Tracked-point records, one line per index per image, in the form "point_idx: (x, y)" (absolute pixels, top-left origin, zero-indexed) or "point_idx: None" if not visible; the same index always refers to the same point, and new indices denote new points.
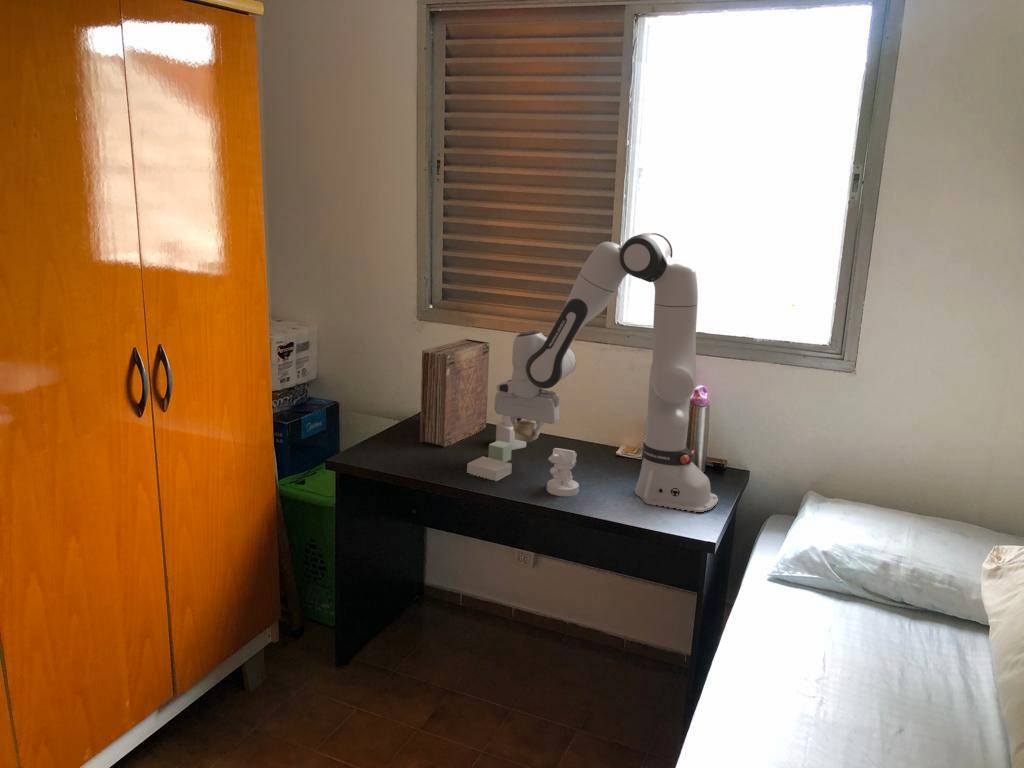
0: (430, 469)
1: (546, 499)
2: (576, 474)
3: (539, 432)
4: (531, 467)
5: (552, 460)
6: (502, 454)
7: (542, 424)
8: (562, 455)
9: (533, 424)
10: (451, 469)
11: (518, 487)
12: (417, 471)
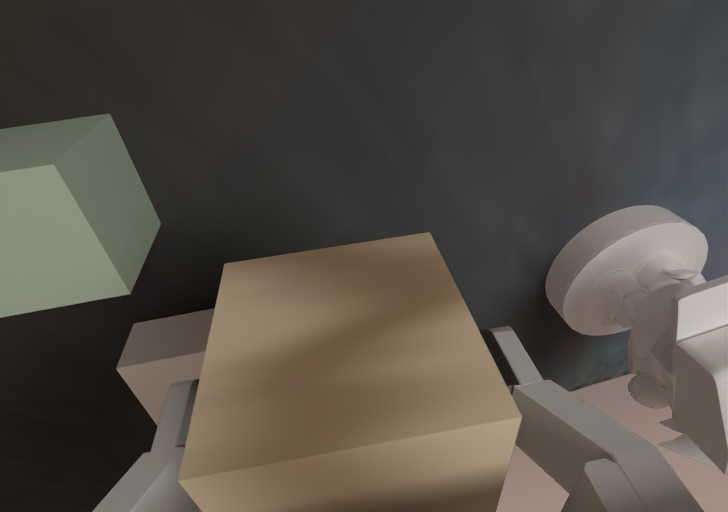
0: (55, 472)
1: (576, 353)
2: (641, 19)
3: (517, 342)
4: (338, 140)
5: (678, 431)
6: (143, 261)
7: (635, 446)
8: None
9: (496, 489)
10: (100, 427)
11: None
12: (55, 501)
